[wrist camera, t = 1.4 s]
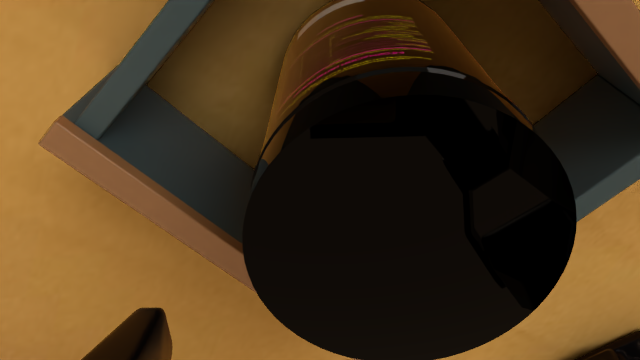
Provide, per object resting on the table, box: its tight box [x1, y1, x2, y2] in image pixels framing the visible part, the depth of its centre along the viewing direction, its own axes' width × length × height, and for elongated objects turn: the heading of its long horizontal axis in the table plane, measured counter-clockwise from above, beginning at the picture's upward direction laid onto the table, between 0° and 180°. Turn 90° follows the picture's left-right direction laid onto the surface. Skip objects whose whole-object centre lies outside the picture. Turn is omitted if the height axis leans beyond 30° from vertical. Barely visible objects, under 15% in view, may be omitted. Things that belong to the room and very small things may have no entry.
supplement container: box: [242, 0, 577, 360], centre depth 15 cm, size 7×7×10 cm
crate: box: [39, 0, 640, 360], centre depth 17 cm, size 14×14×6 cm
